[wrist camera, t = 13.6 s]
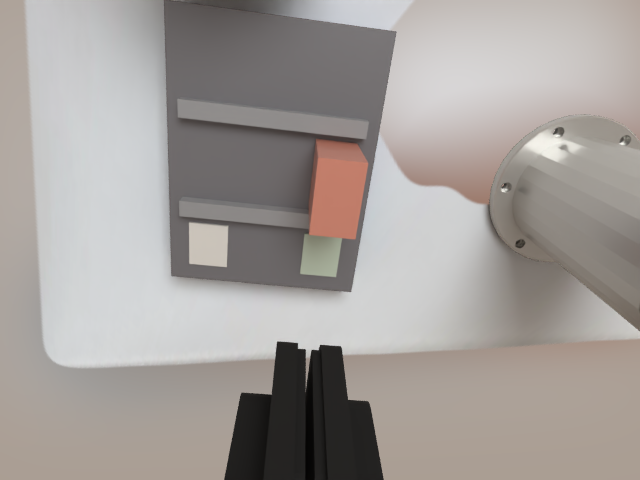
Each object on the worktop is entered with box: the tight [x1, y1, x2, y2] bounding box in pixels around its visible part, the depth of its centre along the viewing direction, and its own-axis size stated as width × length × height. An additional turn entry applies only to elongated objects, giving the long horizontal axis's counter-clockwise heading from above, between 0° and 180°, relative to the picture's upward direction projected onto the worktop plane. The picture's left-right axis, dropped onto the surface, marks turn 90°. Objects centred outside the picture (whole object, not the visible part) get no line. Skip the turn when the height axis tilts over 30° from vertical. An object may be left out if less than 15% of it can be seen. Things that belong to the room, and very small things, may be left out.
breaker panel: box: [164, 0, 396, 292], centre depth 32 cm, size 15×20×4 cm
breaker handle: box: [309, 139, 368, 239], centre depth 28 cm, size 3×5×6 cm, turn 173°
